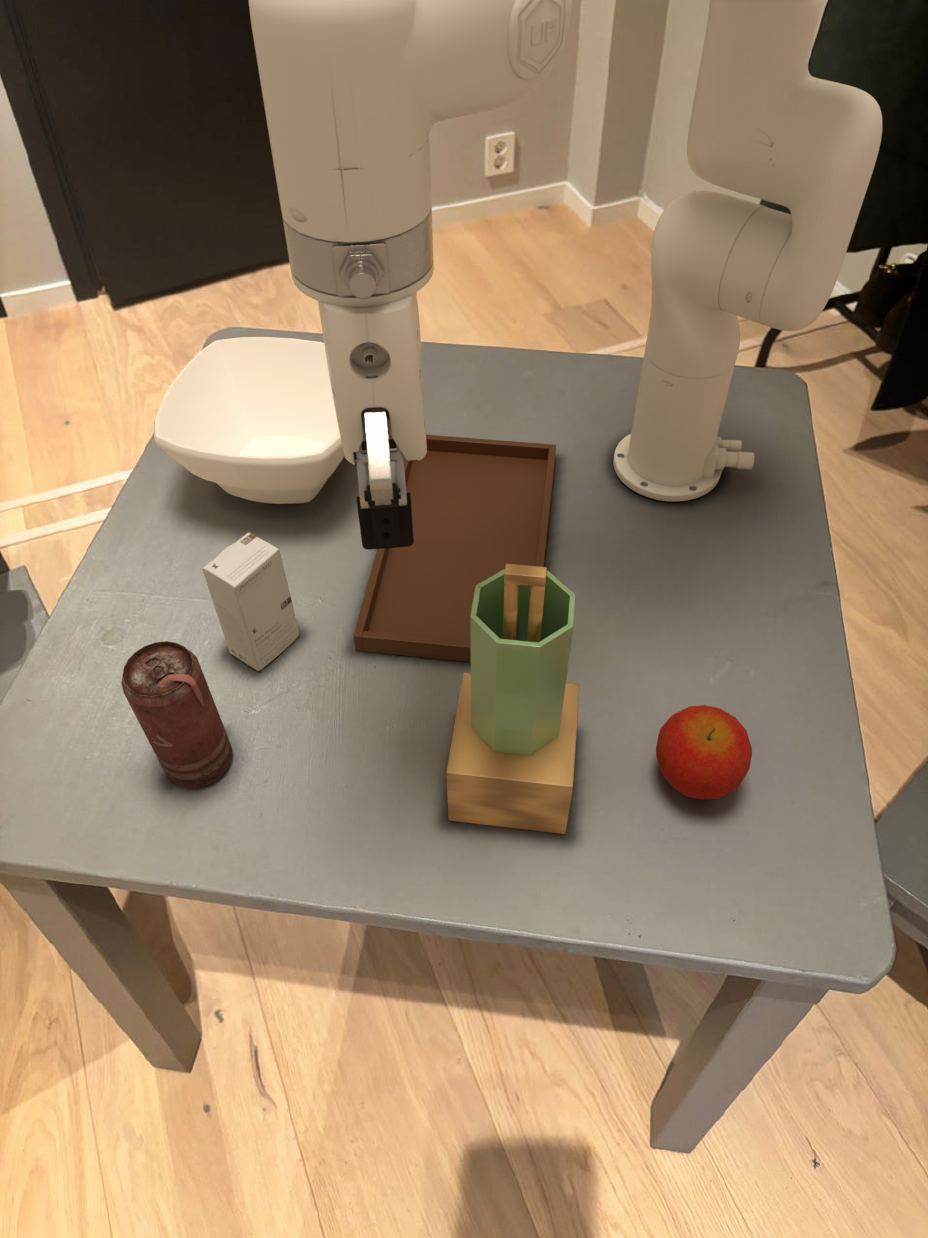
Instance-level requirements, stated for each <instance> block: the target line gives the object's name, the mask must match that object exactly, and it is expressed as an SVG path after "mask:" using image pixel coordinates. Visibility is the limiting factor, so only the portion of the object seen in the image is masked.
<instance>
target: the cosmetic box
mask: <svg viewBox="0 0 928 1238" xmlns="http://www.w3.org/2000/svg"><path fill="white" fill-rule="evenodd" d="M201 570H202V573H203V576H204V579H205V581H206V582H205V583H206V585H207V588H208V592H209V594H210V597H211V600H212V603H213V606H214V609H215V612H216V615H217V619H218V622H219V624H220V628H221V631H222V633H223V636H224V639H225V643H226V646H227V649H228V652H229V653H230V654H231V655H232V656H234V657H235V658H237V659H238V660H240V661H241V662H243V663H244V664H246V665H247V666H249V667H251V668H252V669H254V670H255V671H256V672H260V671H262V670H263V669H264V668H266V667H267V666H268V665H269V664H270V663H272V662H273V661H274V660H275V659H276V658H277V657H278V656H280V655H281V654H282V653H283V652H284V651H285V650H286V649H287V648H289V647H290V645H292V644H293V643H294V642H295V641H296V640H297V638H298V637H299V636H300V630H299V626H298V621H297V617H296V613H295V609H294V605H293V600H292V597H291V592H290V589H289V588H290V587H289V583H288V580H287V575H286V571H285V566H284V563H283V558H282V554H281V550H280V548H278V547H276V546H274V545H273V544H271V543H270V542H268V541H266V540H264V539H261V538H260V537H258V536H256V535H255V534H252V533H251V532H246V533H245V535H243V536H242V537H240V538H239V539H238V540H237V541H235V542H234V543H232V544H230V545H228V546H227V547H225V548H224V549H222V551H220V553H218V555H217V556H216V557H215V558H213V559H212V560H211V561H210V562H208V563H207V564H205V565H204V566H203V567H202V569H201Z"/></svg>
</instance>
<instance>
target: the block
mask: <svg viewBox="0 0 928 1238" xmlns="http://www.w3.org/2000/svg"><path fill="white" fill-rule="evenodd" d="M461 676H462V677H461V682H460V688H459V695H458V701H457V706H456V713H455V720H454V724H453V730H452V736H451V742H450V748H449V754H448V760H447V766H446V772H445V775H446V795H447V815H448V821H449V822H450V821H451V822H459V823H467V824H475V825H485V826H493V827H499V828H500V827H501V828H502V827H503V828H510V829H518V830H527V831H535V832H544V833H553V834H560V835H566V831H567V825H568V819H569V813H570V807H571V802H572V796H573V790H574V779H575V762H576V748H577V747H576V746H577V745H576V744H577V732H578V731H577V730H578V715H579V699H580V698H579V697H580V684H579V683H569V682H566V686H565V694H564V701H563V709H562V717H561V724H560V732H559V737H557V738H556V739H554V740H553V741H551V742H550V743H548V744H547V745H545V746H544V747H543V748H541V749H540V750H538V751H537V752H535V753H534V754H532V755H531V756H530V755H521V754H512V753H502V752H494V751H493V750H492V749H491V748H490V747H489V746H488V745H487V744H486V742H485V741H484V740H483V739H482V738H481V737H480V736H479V735H478V734H477V733H476V732H475V731H474V729H473V728H472V727H471V672H463V673H462V675H461Z"/></svg>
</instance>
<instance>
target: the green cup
mask: <svg viewBox="0 0 928 1238" xmlns="http://www.w3.org/2000/svg"><path fill="white" fill-rule="evenodd" d="M504 574H505V569H504V570H502V571H500V572H498V573H497V574H495V575H493V576H491V577H490V578H488V579H486V580H484V581H483V582H481V583H479V584H477V585H476V586H475V592H474V598H473V604H472V610H471V616H470V637H471V662H470V673H471V727H472V728H473V729H474V731H475V732H476V733H477V734H478V735H479V736H480V737H481V738H482V739H483V740H484V741H485V742H486V744H487V745H488V746H489V747H490V748H491V749H492V750H493V751H494V752H502V753H512V754H521V755H530V756H531V755H532V754H534V753H535V752H537V751H538V750H540V749H541V748H543V747H544V746H545V745H547V744H548V743H550V742H551V741H553V740H554V739H556V738H557V737H559V732H560V724H561V717H562V709H563V701H564V694H565V686H566V683H567V679H568V678H567V676H568V671H569V670H568V669H569V662H570V654H571V647H572V639H573V633H574V632H573V631H574V624H575V623H574V621H575V607H576V594H575V593H574V592H573V591H572V590H571V589H570V588H569V587H568V586H566V585H565V584H564V583H563V582H562V581H560V579H558V578H557V577H556V576H555V575H554V574H553V573H551V571H549V570H547V571H546V582H545V593H544V604H543V616H542V627H541V638H540V642H539V643H538V642H528V641H527V629H528V615H529V601H530V586H526V585H519V594H518V612H517V630H516V640H508V639H503V612H504V586H505V583H504Z"/></svg>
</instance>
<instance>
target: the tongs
mask: <svg viewBox="0 0 928 1238" xmlns="http://www.w3.org/2000/svg"><path fill="white" fill-rule="evenodd" d="M547 569H548V567H546V566H544V567H537V566H526V565H515V564H506V567H505V574H504V583H505V586H504V612H503V639H508V640H516V630H517V612H518V594H519V585H526V586H530V601H529V615H528V629H527V641H528V642H538V643H539V642H540V638H541V627H542V616H543V604H544V593H545V582H546V571H548V570H547Z"/></svg>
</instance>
